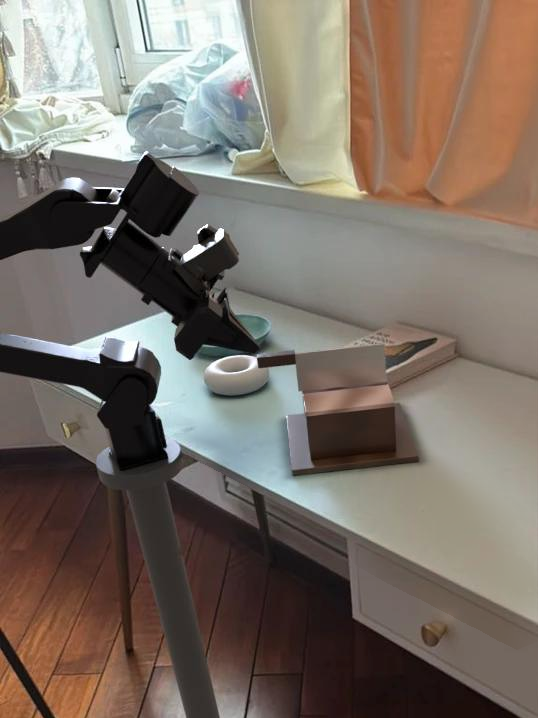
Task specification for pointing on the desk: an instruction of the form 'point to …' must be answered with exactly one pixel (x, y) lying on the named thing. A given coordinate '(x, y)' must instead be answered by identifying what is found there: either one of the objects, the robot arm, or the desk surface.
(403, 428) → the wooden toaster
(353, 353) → the knife
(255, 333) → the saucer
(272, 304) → the desk surface
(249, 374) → the donut
